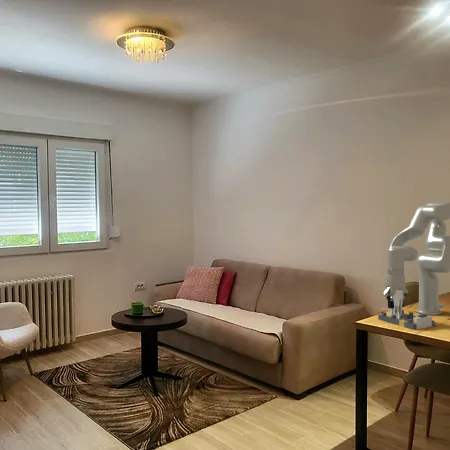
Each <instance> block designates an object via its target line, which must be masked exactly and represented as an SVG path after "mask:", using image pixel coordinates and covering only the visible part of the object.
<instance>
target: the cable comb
mask: <svg viewBox="0 0 450 450" xmlns="http://www.w3.org/2000/svg"><path fill="white" fill-rule="evenodd" d="M377 315H378V316H377V319H379V321H382V322H386V323H389V324H393V325H396V326H399V327H403V328H407V329H409V330H413V331H414V330H415V331H416V330H419V329H424V328H432V327H435V325H436V324H435V323H436V322H435V320H433V316H432V315H428V314H421V313H419V314H417V315H414V312H413V311H410V312H408V313H405V310H404V309H402V318H403V319H397V318H396V315H391V317H390V315H387V312H386V311H385V312H381V313H380V314H377Z"/></svg>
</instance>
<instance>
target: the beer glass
mask: <svg viewBox="0 0 450 450" xmlns="http://www.w3.org/2000/svg"><path fill="white" fill-rule="evenodd" d="M390 294H391V292H390ZM390 298H391V296H390ZM392 301H393V302H394V308H393V309H390V308H389V309H390V310H389V311H390V313H389V316H390V317H391V315H396V318H397V319H401V320H404V319H403V318H402V310H403V307H402V305H403V289H402V290H396V292H395V295H393V300H392Z"/></svg>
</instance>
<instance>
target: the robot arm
mask: <svg viewBox="0 0 450 450" xmlns="http://www.w3.org/2000/svg"><path fill="white" fill-rule="evenodd" d="M447 220H450V201H432V202H428V203H426V204H425V205H420V206H418V207H417V208H416V210H415V212H414V214H413V216H412V218H411V220H410V222H409V225H408V226H407V227H406V228H405V229H404V230H402V231H401V232H400V233H398V234H397V235H396V236H395V237H394V238H393V240H392V242H391V244H390V246H389V247H388V249H387V274H386V277H385V282H384V284H385V285H384V292H383V293H382V294H383V296H384V297H385V299H386V301H387V308H388V309H393V308H394V302H393V301H392V300H393V295H395V292H396V290H402V289H403V305H402V308H404V307H405V299H406V297H407V294H408V293H409V290H408V289H407V287H406V284H407V283H406V277H405V269H404V268H405V266H404V265H405V264H404V263H405V262H414V261H415V260H416V259H417V260H416V264H417V270H418V308H416V309H415V312H416V313H418V314H427V315H429V316H432V315H433V316H435V315H436V316H437V315H438V316H439V315H441V314H442V310H441V308H444V307H445V305H444V304H443V303H439V285H440V284H439V278H438V275H437V274H436V273H439V274H448V273H450V235H447V234H446V233H447V226H446V223H445V222H444V221H447ZM428 227H429V228H428ZM427 228H428V231H427ZM426 231H427V235H426V238H425V242H424V243H425V244H424V248H425V250H426V251H427V252H428V253H422V254H420V255H419V253H418V250H417V248H415V247H412V246H408V245H405V244H406V243H408V242H410V241H412V240H415V239H418V238H422V237H423V236H424V235H425V233H426ZM429 252H430V253H429ZM437 253H438V254H437ZM390 292H391V294H390ZM390 296H391V298H390Z"/></svg>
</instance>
